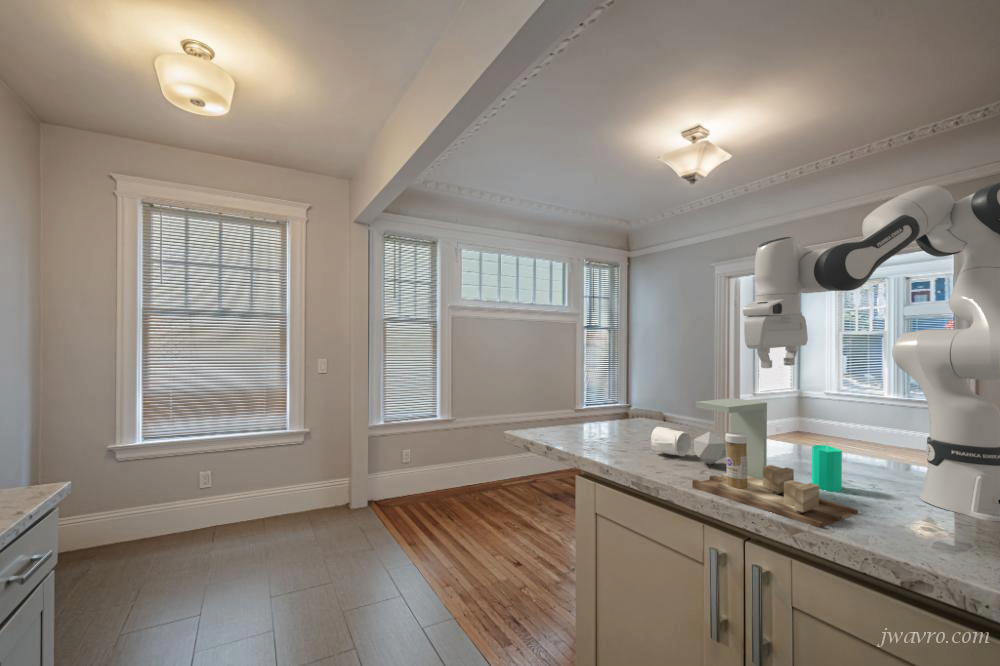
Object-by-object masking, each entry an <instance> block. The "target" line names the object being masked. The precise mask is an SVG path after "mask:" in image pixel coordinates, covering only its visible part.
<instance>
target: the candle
mask: <svg viewBox="0 0 1000 666" xmlns="http://www.w3.org/2000/svg"><path fill="white" fill-rule="evenodd" d="M825 444H826V445H824V444H823V445H822V444H820V445H817V444H814V445H812V446H811V483H812V484H816V485H819V489H821V490H820V491H824V490H826V491H825V492H831V491H834V492H835V491H837V492H841V491H842V487H843V486H842V485H843V484H842V480H843V479H842V478H843V477H842V474H843V471H842V470H843V469H842V468H843V463H842V462H843V461H842V460H843V450H841V449H839V448H836V447H833V446H830V445H828V442H826V443H825ZM840 490H841V491H840Z"/></svg>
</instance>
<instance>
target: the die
mask: <svg viewBox="0 0 1000 666" xmlns="http://www.w3.org/2000/svg"><path fill="white" fill-rule="evenodd" d="M693 450H694V451H693V453H694V454H695V455H696V456H697V457H698V458H699V459H700V460H702V461H703V462H704V463H706V464H708V465H709V466H710V465H712V464H714V463H716V462H718V461H721V460H722V459H724V458H727V445H726V442H724V441H723V440H722V439H721V438H719V437H718V436H717V435H716V434H715V433H713V432H712V431H708V432H706V433H704V434H702V435H699V436H698V437H696V438H694V439H693Z"/></svg>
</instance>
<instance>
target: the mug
mask: <svg viewBox="0 0 1000 666" xmlns="http://www.w3.org/2000/svg"><path fill="white" fill-rule="evenodd" d="M652 430H653V431H652V432H651V436H650V445H651V448H652V449H653V450H654V451H656V452H660V453H664V454H668V455H672V456H673V455H675V456H679V457H684V456H686V455H688V453H689V452H690V450H691V448H692V443H693V442H692V436H691V435H690V433H689V432H687V431H680V430H675V429H673V428H670V427H669V428H668V427H664V426H656V427H654V429H652Z"/></svg>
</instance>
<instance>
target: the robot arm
mask: <svg viewBox="0 0 1000 666" xmlns="http://www.w3.org/2000/svg"><path fill="white" fill-rule="evenodd" d="M861 225H862V227H861V231H862V235H863V237H864V238H862V239H861V240H860V241H856V242H855V241H854V242H845V243H841V244H837V245H835V246H832V247H828V248H823V249H818V250H814V249H809V248H808V247H807V248H806V247H805V246H803V245H801V244H799V243H798V242H797V241H796V240H795V237H791V236H783V237H779V238H775V239H771V240H767V241H764V242H762V243H761V244H759V245H758V246H757V249H756V253H755V255H754V257H755V258H754V281H755V283H756V290H755V293H754V294H755V296H754V301H752V302H751V303H749V304H747V305H745V306H744V307H743V308H742V314H743V315H742V316H744V317H745V319H744V321H743V329H744V331H743V334H744V343H745V345H746V347H747V349H749V350H750V349H751V350H752V349H753V350H754V349H755V350H757V351H756V353H757V356H758V358H759V360H760V367H761V369H772V368H773V360H772V359H771V358H770V353H771V349H775V348H777V349H778V348H785V352H786V353H785V357H783V365H784V366H794V365H795V364H796V362H795V361H796V360H795V359H796V356H797V353H798V351H799V350H798V349H799V348H798V347H799V346H800V347H801V346H802V347H803V346H806V345H807V343H808V340H809V337H808V328H807V327H808V325H807V320H806V317H805V316H804V315H803V313H802V312H801V310H800V307H801V306H800V305H801V304H800V294H812V293H814V294H815V293H825V292H846V291H847V292H849V291H855V290H857V289H859V288H861V287H862V286H863V285H865V284H866V283H867V282H868V280H869V279H870V278H871V276H872V275H873V274H874V273H875V271H876V270H877V269H878V268H879V267H880V266H881V265H882V264H883V263H885V262H886V261H888V260H889V259H891V258H892V257H894V256H895V255H896V254H898V253H900V252H901V251H903V249H905V248H906V247H907V246H909V245H910V244H912V243H913V242H916V245H917V246H918V247H919V248H920V249H921V250H922V251H923V252H925V253H926V254H928V255H929V256H930V255H931V256H932V257H938V258H943V257H944V258H945V257H949V256H954V255H956V254H959V253H961V252H964V262H963V265H962V267H961V268H960V270H959V273H958V276H957V279H956V281H955V283H954V286H953V289H952V292H951V294H950V297H949V300H948V306H949V309H950V311H951V312H952V313H953V314H954V315H955V316H956V317H957V318H959V319H961V320H963V321H965V322H967V323H970V324H971V325H970V326H969V327H967V328H955V329H954V328H944V329H943V328H935V329H933V328H932V329H931V328H930V329H929V328H928V329H927V328H926V329H922V330H921V329H920V330H915V331H914V330H913V331H909V332H904V333H902V334H901V335H900V336H899V337H898V338H897V339H896V340H895V341H894V343H893V345H892V351H891V354H892V355H891V356H892V359H893V361H894V363H895V365H896V366H897V367H898V368H899V369H900V370H901V371H904V372H905V373H906V374H907V375H909V376H910V377H911V378H912V379H913V380H914V381H915V383H916V384H917V385H918V386H919V388H920V389H921V391H922V392H923V395H924V397H925V400H926V402H927V407H928V419H929V436H928V437H927V438H926V439H927V440H926V447H925V449H926V450H925V453H926V454H925V455H926V461H927V462H928V464H927V469H926V475H925V480H924V482H923V483H924V484H923V486H922V490H921V492H920V494H919V499H920V500H922V501H923V502H925V503H928V504H929V505H932V506H935V507H937V508H941V509H943V510H947V511H951V512H954V513H958V514H963V515H966V516H969V517H972V518H976V519H979V520H983V521H990V522H1000V409H999V407H998V406H997V405H996V404H995V403H993V402H992V401H991V400H988V399H987V398H984V397H982V396H980V395H978V394H976V392H974V391H973V390H972V389H971V387H970V386H969V383H968V380H975V381H976V380H979V381H980V380H981V381H991V382H992V381H993V382H1000V182H997V183H993V184H990V185H987V186H984V187H982V188H980V189H978V190H977V191H976V192H973V193H972V194H970V195H967V196H966V197H965V196H964V197H963V198H961V199H959V200H955V199H954V198H953V196H952V194H951V193H950V191H949V190H947V189H945V188H944V187H941V186H938V185H925V186H920V187H918V188H915V189H911V190H909V191H907V192H904V193H901V194H899V195H897V196H895V197H894V198H891V199H889V200H888V201H886V202H884V203H883V204H881V205H879V206H878V207H876V208H875V209H874V210H872V211H871V212H869V214H868V215H866V217H864V219H863V221H862V224H861Z"/></svg>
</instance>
